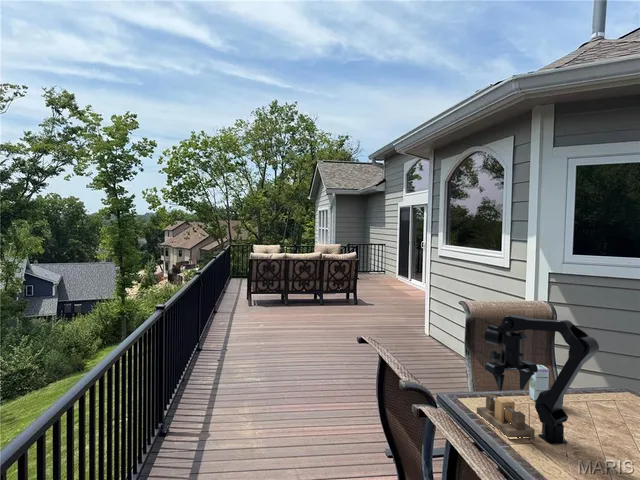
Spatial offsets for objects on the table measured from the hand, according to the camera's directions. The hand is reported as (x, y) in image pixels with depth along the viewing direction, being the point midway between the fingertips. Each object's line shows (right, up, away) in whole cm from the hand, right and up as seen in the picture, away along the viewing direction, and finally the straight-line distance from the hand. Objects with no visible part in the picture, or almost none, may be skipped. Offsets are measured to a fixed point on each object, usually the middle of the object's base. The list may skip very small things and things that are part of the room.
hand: (510, 390), depth 161 cm
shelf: (-4, -12, -3) cm, 13 cm away
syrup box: (+22, -13, +23) cm, 34 cm away
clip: (-4, -10, -3) cm, 11 cm away
